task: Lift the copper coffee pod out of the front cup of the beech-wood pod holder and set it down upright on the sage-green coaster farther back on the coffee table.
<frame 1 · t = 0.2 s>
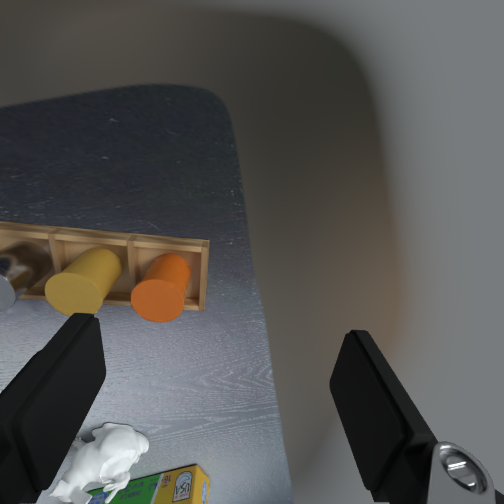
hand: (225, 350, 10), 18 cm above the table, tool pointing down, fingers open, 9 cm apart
rabbit figurine: (110, 428, 40), on the table
game box: (149, 483, 47), on the table
pod holder: (103, 263, 29), on the table
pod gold: (102, 265, 28), resting on pod holder
pod: (171, 271, 29), resting on pod holder
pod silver: (29, 259, 28), resting on pod holder
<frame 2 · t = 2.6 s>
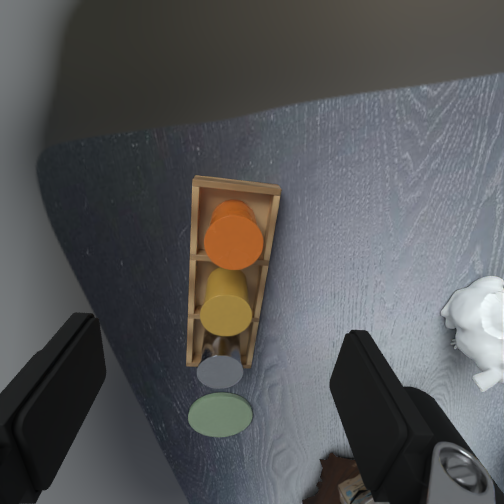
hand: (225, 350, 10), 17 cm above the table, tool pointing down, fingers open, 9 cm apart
potted plant: (361, 479, 50), on the table
rabbit figurine: (452, 310, 34), on the table
coaster: (220, 413, 39), on the table
pod holder: (227, 281, 29), on the table
coffee jar: (394, 406, 41), on the table
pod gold: (227, 283, 29), resting on pod holder
pod: (233, 220, 26), resting on pod holder
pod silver: (221, 333, 32), resting on pod holder
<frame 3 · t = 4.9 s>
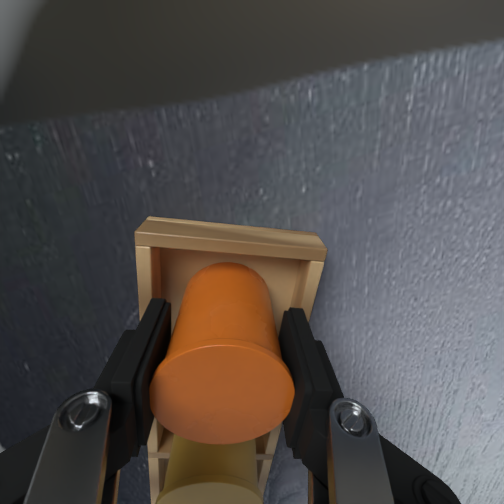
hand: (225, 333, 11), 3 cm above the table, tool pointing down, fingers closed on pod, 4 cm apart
pod holder: (218, 389, 17), on the table
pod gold: (217, 395, 16), resting on pod holder
pod: (227, 299, 14), resting on pod holder, touching gripper
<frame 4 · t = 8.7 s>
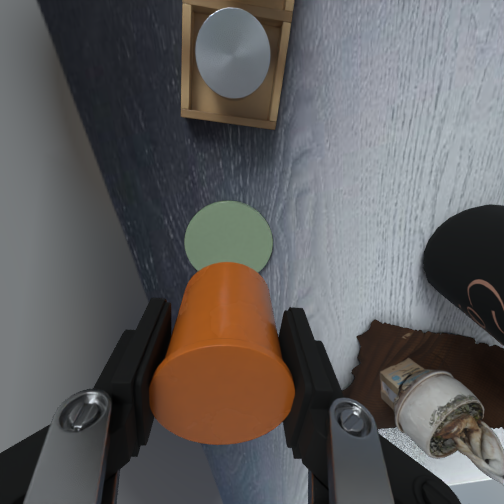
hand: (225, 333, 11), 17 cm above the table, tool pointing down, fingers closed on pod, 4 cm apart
potted plant: (407, 375, 39), on the table
coaster: (229, 242, 28), on the table
coffee jar: (463, 247, 30), on the table
pod: (227, 299, 14), point 15 cm above the table, touching gripper
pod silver: (233, 71, 22), resting on pod holder
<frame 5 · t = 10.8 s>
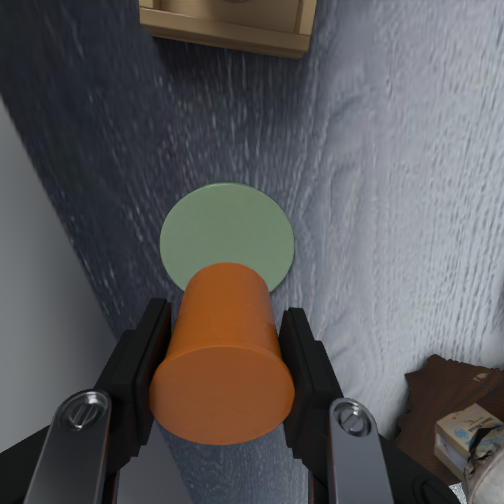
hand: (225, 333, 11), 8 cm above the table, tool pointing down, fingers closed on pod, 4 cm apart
potted plant: (465, 420, 29), on the table
coaster: (228, 247, 19), on the table
pod: (227, 299, 14), point 6 cm above the table, touching gripper
when the fingers open (3 cm above the table, at t = 12.5 s): pod stays where it is, resting on coaster.
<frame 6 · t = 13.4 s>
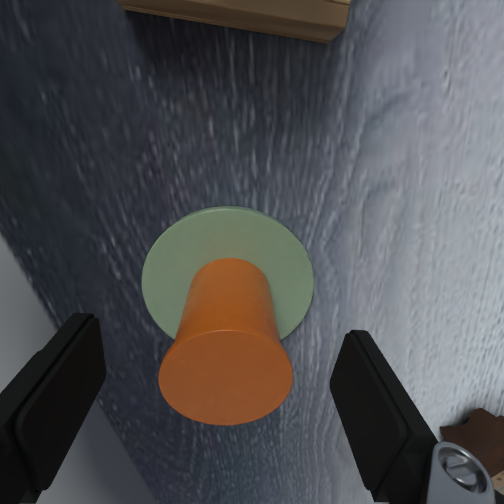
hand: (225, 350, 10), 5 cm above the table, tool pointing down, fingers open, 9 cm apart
coaster: (229, 286, 15), on the table
pod: (230, 293, 14), point 1 cm above the table, touching coaster
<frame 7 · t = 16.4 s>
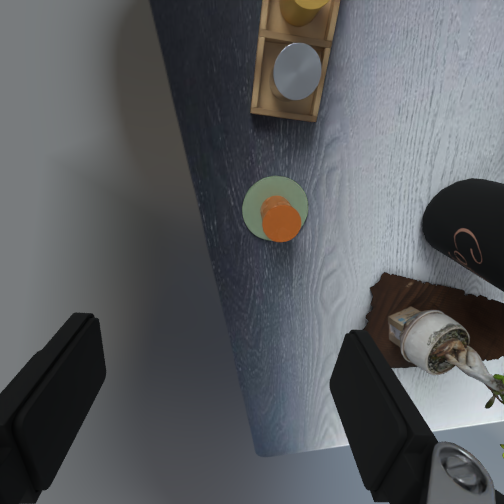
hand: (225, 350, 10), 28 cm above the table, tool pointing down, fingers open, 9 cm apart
potted plant: (410, 323, 48), on the table
coaster: (274, 209, 37), on the table
pod holder: (298, 2, 28), on the table
coffee jar: (453, 214, 39), on the table
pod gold: (299, 1, 28), resting on pod holder
pod: (275, 210, 37), point 1 cm above the table, touching coaster
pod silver: (287, 80, 31), resting on pod holder
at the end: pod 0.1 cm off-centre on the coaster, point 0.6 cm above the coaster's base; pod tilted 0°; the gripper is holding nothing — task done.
